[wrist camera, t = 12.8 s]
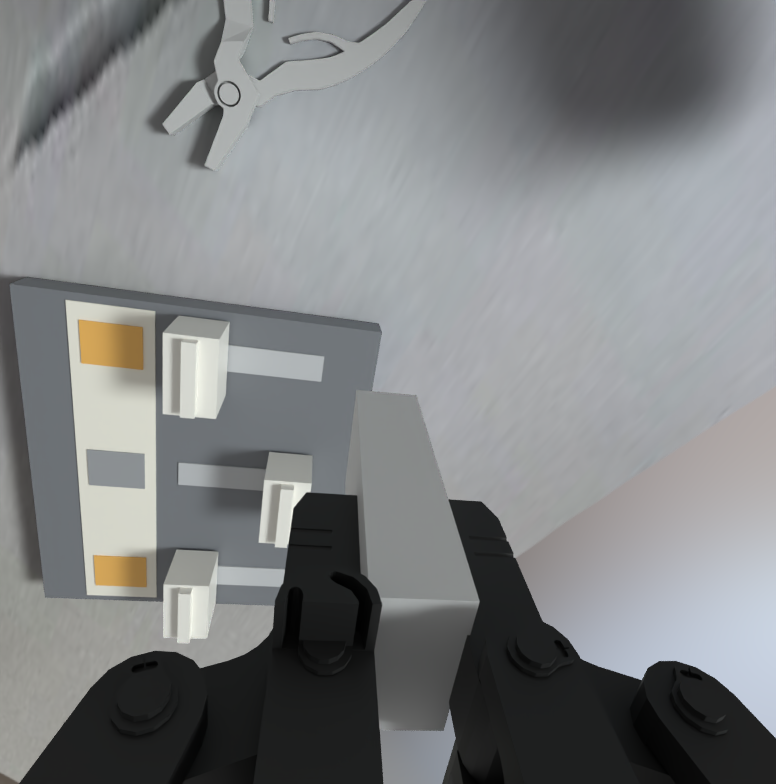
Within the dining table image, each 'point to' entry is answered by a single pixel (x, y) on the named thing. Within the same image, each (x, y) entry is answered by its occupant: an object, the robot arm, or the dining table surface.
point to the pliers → (274, 73)
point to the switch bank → (172, 435)
